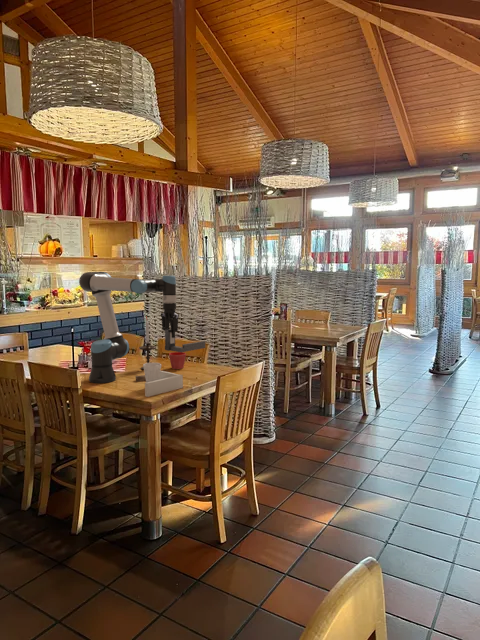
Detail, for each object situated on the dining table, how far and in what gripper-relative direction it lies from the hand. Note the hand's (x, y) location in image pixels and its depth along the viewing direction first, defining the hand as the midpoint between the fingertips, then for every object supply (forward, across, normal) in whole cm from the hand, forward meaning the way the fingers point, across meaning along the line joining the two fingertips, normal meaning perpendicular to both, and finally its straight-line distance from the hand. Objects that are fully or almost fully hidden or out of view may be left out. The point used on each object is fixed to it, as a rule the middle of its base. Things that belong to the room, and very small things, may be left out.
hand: (170, 342), depth 275 cm
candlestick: (+23, -37, +13) cm, 45 cm away
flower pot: (+23, -24, +27) cm, 43 cm away
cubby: (+22, +8, -19) cm, 30 cm away
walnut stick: (+23, -12, -6) cm, 26 cm away
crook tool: (+4, +4, +8) cm, 10 cm away
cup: (+23, +4, -17) cm, 28 cm away
